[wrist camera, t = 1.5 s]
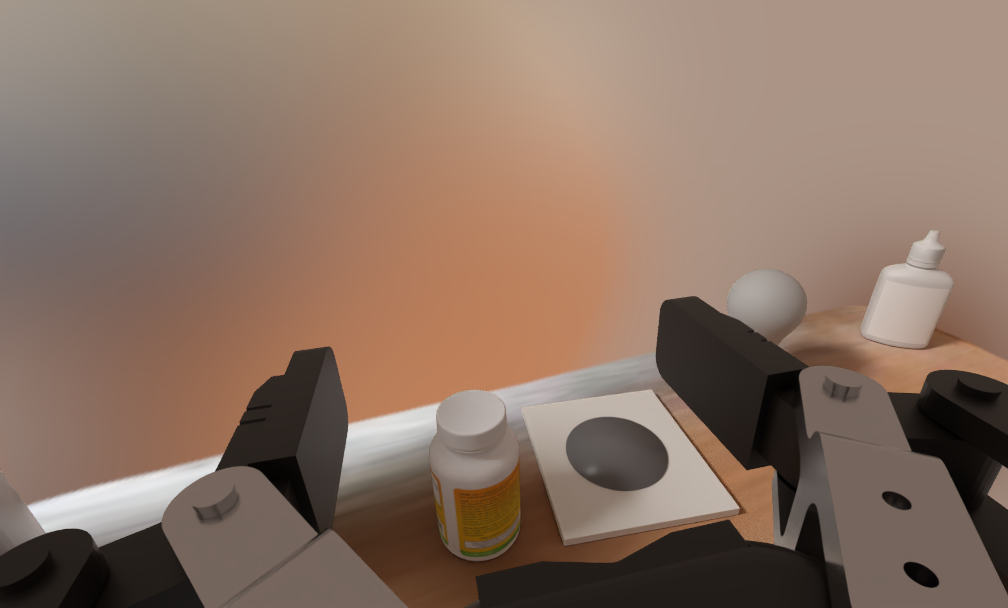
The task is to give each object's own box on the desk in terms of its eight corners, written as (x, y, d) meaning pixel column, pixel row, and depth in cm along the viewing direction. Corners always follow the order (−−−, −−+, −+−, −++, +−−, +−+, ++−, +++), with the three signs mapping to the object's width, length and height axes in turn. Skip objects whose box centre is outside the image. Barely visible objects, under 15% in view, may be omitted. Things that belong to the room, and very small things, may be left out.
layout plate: (564, 546, 29) (564, 538, 29) (521, 412, 41) (521, 406, 40) (738, 514, 31) (740, 507, 31) (650, 394, 42) (651, 388, 42)
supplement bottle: (535, 514, 31) (536, 400, 27) (490, 581, 27) (481, 459, 23) (472, 481, 34) (463, 372, 30) (422, 536, 30) (403, 420, 26)
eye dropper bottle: (914, 358, 46) (964, 243, 41) (852, 334, 51) (890, 228, 45) (932, 344, 48) (982, 234, 43) (871, 323, 53) (909, 220, 47)
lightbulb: (798, 395, 42) (834, 283, 37) (733, 401, 41) (760, 288, 36) (758, 358, 47) (785, 256, 42) (700, 362, 47) (720, 260, 42)
